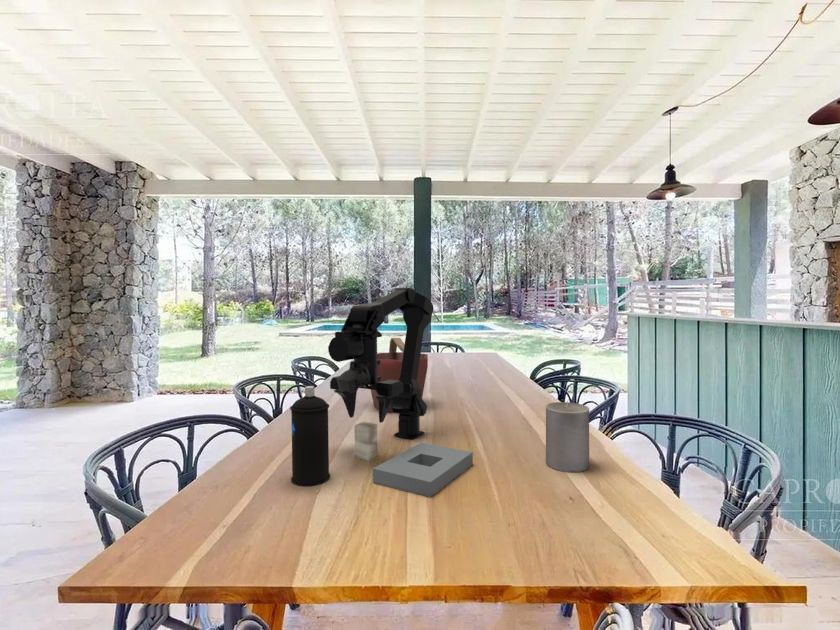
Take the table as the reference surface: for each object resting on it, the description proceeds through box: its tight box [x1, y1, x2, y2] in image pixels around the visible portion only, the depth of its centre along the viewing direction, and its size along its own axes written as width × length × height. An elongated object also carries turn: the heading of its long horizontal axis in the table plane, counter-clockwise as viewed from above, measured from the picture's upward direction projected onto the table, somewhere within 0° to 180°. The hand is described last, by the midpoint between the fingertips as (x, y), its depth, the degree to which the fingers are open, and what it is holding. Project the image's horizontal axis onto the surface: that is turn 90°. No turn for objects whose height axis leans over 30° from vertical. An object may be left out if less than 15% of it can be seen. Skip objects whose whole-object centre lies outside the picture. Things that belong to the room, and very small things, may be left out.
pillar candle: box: [545, 400, 590, 473], centre depth 105 cm, size 10×10×15 cm
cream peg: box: [354, 421, 379, 461], centre depth 111 cm, size 4×4×8 cm
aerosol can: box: [289, 385, 331, 487], centre depth 98 cm, size 8×8×20 cm
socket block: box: [372, 442, 474, 498], centre depth 101 cm, size 20×14×3 cm
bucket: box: [369, 337, 429, 414], centre depth 160 cm, size 24×22×25 cm
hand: (366, 419), depth 111 cm, fingers open, 9 cm apart
